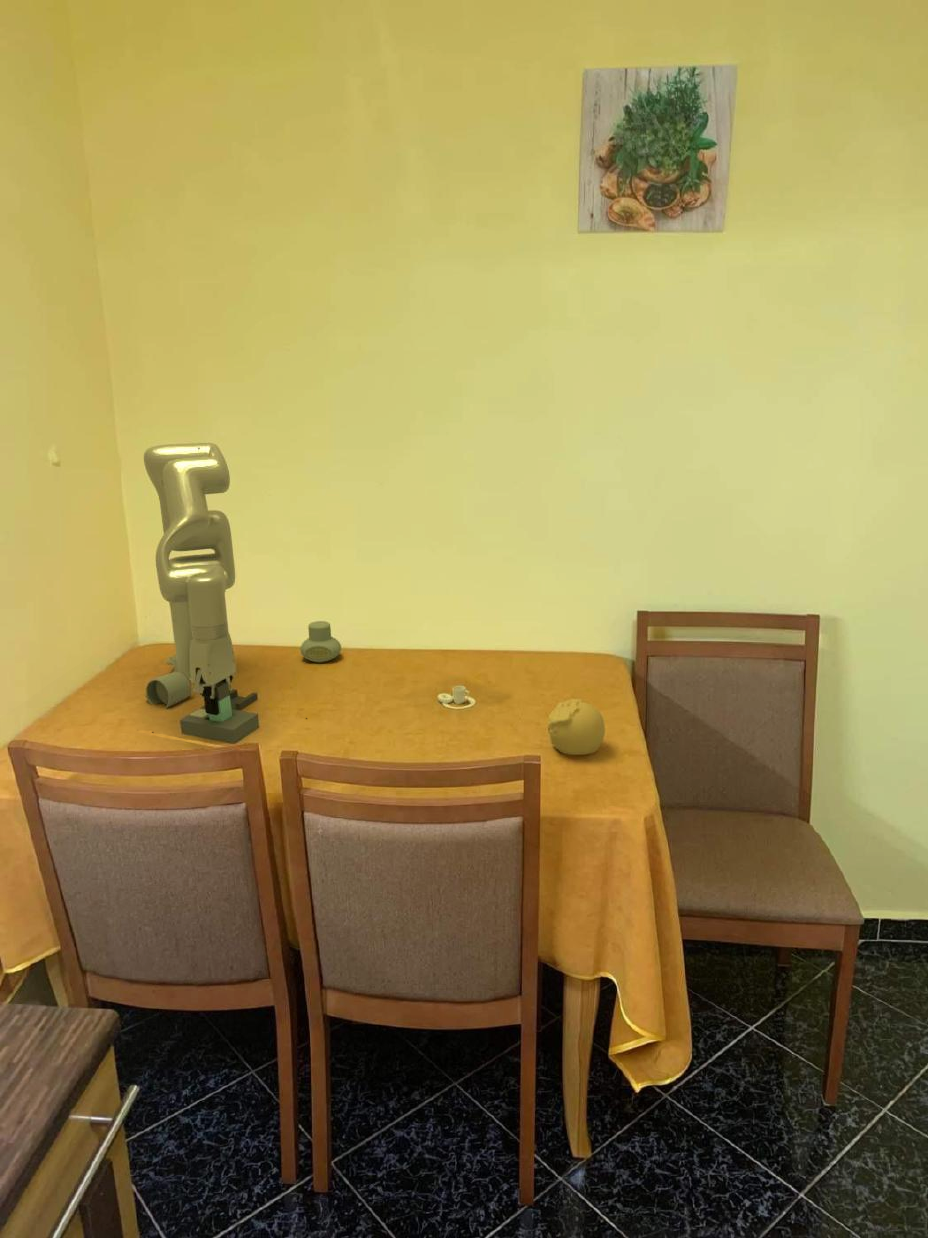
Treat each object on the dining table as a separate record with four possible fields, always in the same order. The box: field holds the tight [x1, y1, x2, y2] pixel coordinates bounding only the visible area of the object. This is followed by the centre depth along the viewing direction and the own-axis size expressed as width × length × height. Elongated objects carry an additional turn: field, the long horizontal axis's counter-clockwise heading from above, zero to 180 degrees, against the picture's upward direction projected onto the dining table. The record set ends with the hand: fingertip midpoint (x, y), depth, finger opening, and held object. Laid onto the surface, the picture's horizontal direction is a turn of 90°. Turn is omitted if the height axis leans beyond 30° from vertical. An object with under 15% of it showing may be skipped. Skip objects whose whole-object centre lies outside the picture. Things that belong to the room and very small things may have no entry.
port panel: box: [179, 705, 260, 745], centre depth 191 cm, size 14×9×4 cm, turn 68°
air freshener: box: [300, 620, 342, 664], centre depth 235 cm, size 11×8×10 cm
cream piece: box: [437, 685, 476, 710], centre depth 207 cm, size 9×8×4 cm
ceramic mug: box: [145, 672, 192, 709], centre depth 208 cm, size 11×8×8 cm
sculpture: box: [547, 698, 606, 756], centre depth 181 cm, size 12×12×11 cm
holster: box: [230, 688, 259, 711], centre depth 206 cm, size 7×7×2 cm
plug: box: [207, 681, 232, 722], centre depth 189 cm, size 4×4×8 cm
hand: (218, 709), depth 190 cm, fingers closed on plug, 3 cm apart
